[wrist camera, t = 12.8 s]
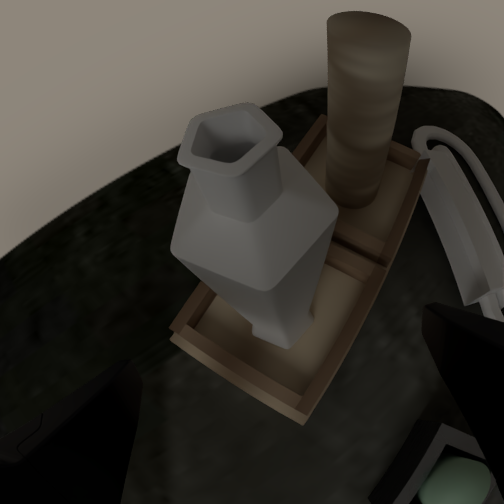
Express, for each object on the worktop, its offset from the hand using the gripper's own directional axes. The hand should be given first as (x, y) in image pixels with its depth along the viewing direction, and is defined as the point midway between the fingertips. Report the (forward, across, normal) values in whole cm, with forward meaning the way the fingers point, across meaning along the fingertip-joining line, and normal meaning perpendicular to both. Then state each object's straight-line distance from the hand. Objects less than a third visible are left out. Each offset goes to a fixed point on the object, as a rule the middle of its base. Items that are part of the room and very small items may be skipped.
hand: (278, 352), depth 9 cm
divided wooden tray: (+14, -3, +2) cm, 14 cm away
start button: (+1, -8, +14) cm, 16 cm away
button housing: (+2, -8, +14) cm, 16 cm away
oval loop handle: (+13, -16, +3) cm, 21 cm away
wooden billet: (+16, -7, -2) cm, 17 cm away
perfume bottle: (+10, 0, +5) cm, 11 cm away
